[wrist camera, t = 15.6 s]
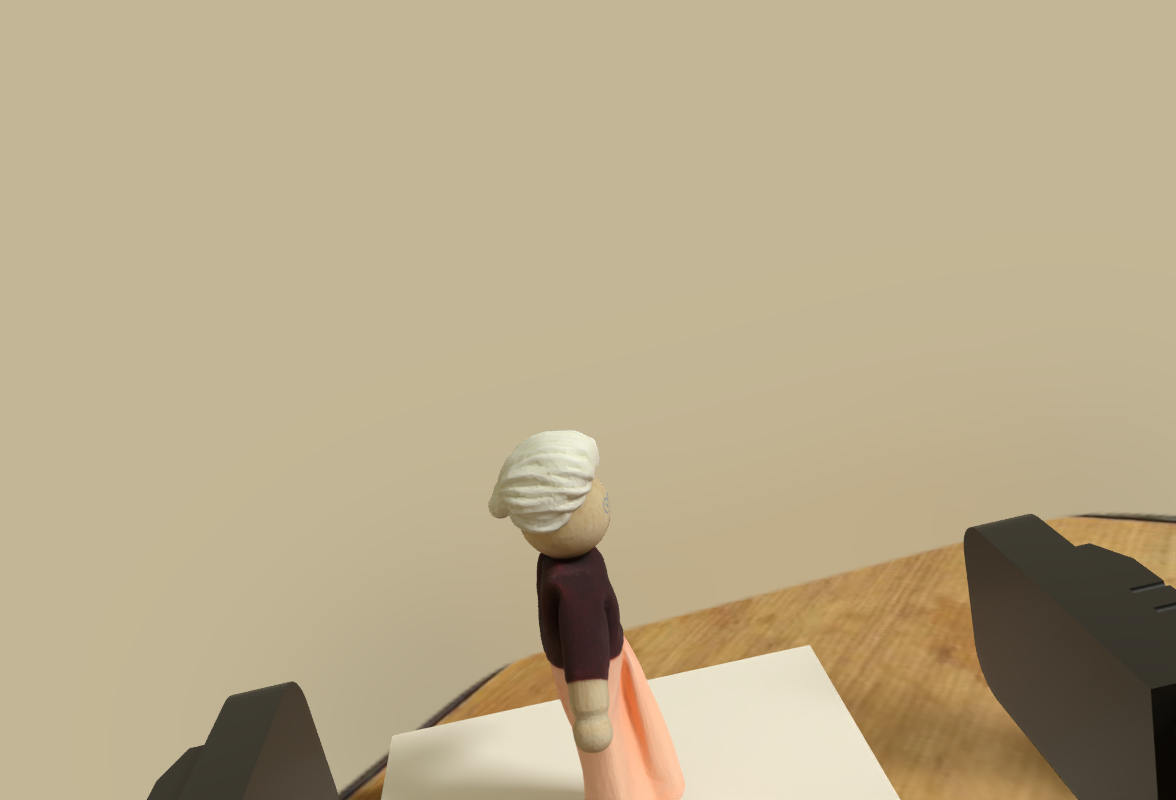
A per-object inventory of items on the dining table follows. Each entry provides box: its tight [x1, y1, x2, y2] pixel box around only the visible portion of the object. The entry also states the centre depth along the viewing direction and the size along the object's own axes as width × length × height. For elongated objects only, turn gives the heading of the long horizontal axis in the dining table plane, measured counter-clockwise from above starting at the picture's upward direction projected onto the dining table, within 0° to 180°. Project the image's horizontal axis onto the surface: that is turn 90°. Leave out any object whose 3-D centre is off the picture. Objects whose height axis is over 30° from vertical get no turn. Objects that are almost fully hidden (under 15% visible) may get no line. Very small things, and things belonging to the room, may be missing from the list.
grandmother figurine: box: [489, 430, 685, 800], centre depth 30 cm, size 8×4×13 cm, turn 16°
